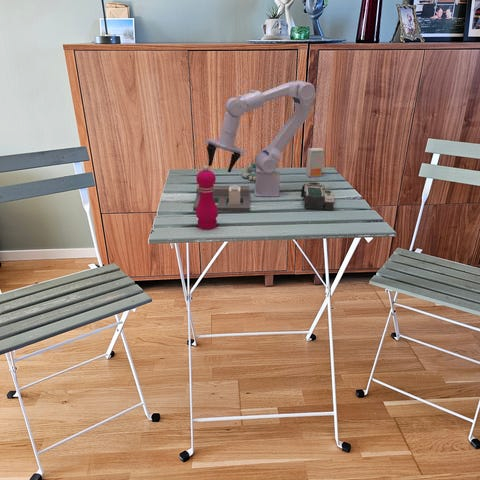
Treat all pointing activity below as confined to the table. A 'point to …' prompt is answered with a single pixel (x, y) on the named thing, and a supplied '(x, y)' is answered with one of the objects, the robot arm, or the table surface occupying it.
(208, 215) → the pepper mill
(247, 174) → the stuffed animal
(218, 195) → the socket panel
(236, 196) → the plug
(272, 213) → the table surface
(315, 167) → the skincare box
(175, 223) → the table surface
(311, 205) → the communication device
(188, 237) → the table surface
